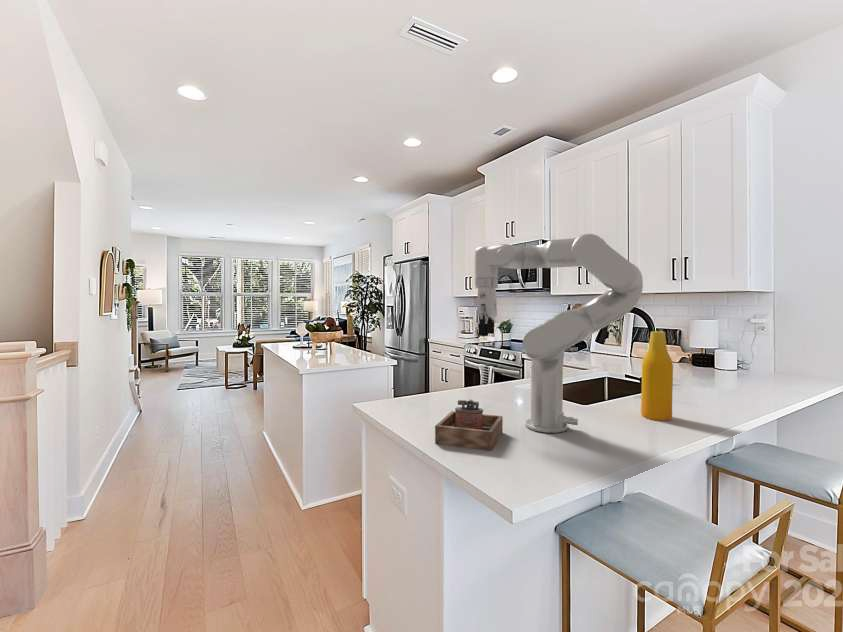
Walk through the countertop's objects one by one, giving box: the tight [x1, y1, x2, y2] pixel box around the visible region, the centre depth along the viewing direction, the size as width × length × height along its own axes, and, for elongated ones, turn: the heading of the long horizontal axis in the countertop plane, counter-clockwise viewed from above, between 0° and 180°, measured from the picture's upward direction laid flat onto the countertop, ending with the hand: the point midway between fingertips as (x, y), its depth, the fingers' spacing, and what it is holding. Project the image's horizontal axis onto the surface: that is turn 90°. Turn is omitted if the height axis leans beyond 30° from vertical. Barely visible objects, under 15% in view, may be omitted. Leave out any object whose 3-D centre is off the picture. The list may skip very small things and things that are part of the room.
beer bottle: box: [640, 331, 674, 422], centre depth 140 cm, size 9×9×29 cm
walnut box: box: [434, 410, 504, 452], centre depth 121 cm, size 16×16×5 cm
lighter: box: [454, 399, 484, 430], centre depth 120 cm, size 8×3×10 cm, turn 78°
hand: (486, 334), depth 140 cm, fingers open, 9 cm apart
